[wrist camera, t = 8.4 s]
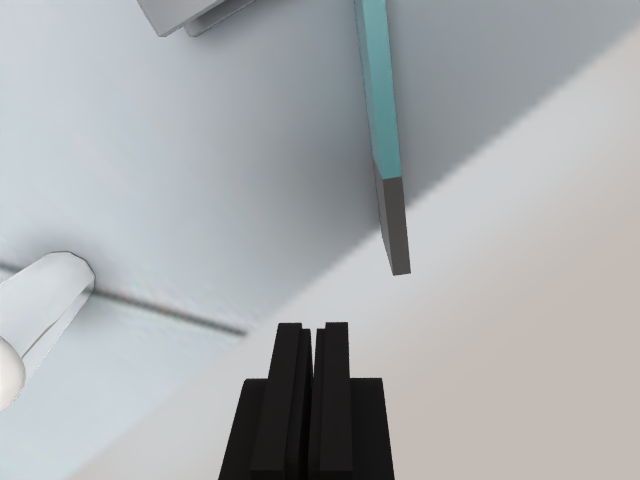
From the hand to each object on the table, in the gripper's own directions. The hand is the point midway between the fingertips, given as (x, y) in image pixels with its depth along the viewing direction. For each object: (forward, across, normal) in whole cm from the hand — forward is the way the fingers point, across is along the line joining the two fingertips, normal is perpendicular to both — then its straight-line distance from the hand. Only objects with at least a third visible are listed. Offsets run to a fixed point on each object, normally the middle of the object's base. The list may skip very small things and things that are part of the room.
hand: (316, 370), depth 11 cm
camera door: (+14, -2, -4) cm, 15 cm away
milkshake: (+14, +16, +5) cm, 21 cm away
